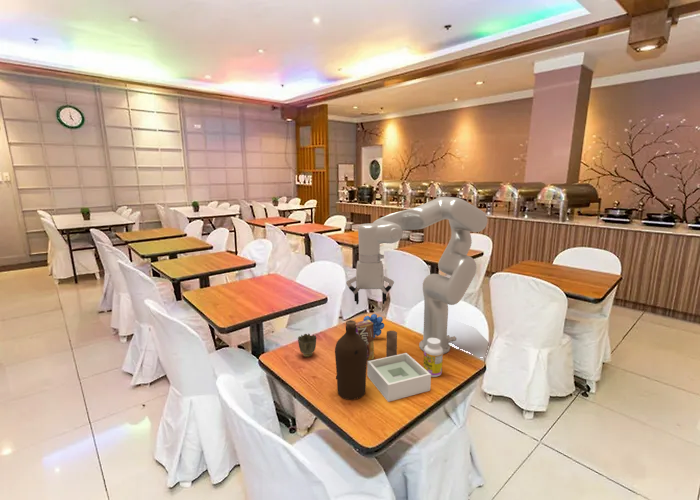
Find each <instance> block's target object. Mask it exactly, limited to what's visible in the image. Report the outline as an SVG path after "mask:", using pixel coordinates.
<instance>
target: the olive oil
mask: <svg viewBox="0 0 700 500" xmlns="http://www.w3.org/2000/svg"><path fill="white" fill-rule="evenodd" d="M334 358H335V359H334V360H335V370H336V376H335V379H336V383H337V384H336V385H337V387H336V389H337V394H338V396H339V397H340V398H342V399H345V400H348V401H349V400H358V399H360V398H362V397H363V396H364V395H365V394H366V389H367V388H366V387H367V386H366V382H367V346H366V343H365V341H364V340H363V339H362V338H361V337H360V336H359V335H358V334H357V333H356V321H355V320H352V319H350V320H346V321H345V333H344V334H342V336H341V337H340V338H339V339H338V340H337V341H336V344H335V347H334Z"/></svg>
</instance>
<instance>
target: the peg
mask: <svg viewBox="0 0 700 500" xmlns="http://www.w3.org/2000/svg"><path fill="white" fill-rule="evenodd" d="M385 346H386V348H385V349H386V351H385V353H386V356H385V357H389V356H394V355H398V352H397V351H398V332H397V331H396V330H387V331H386V345H385Z"/></svg>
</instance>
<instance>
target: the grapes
mask: <svg viewBox="0 0 700 500" xmlns="http://www.w3.org/2000/svg"><path fill="white" fill-rule="evenodd" d="M365 320H370V321H371V322H373V334H374V339H375V338H376V337H379V336H381V335H382V330H383V329H384V328H385V324H384V322H383V320H384V319H383V317H382V316H378V315H377V314H376V313H372V314H371V315H365V316H364V317H363V320H362V321H365Z"/></svg>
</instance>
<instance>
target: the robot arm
mask: <svg viewBox="0 0 700 500" xmlns="http://www.w3.org/2000/svg"><path fill="white" fill-rule="evenodd" d="M443 220H448V223H449V227H450V230H451V231H450V232H451V235H450V239H449V241H448V244H447V245H446V247H445V249H444V251H443V253H442V254H441V256H440V258H439V260H438V262H437V263H438V264H437V266H438V267H437V268H438V269H439V271H441V272H442V273H443V274H445V275H448V276H450V278H449V277H447V276H444V275H442V274H438V273H430V274H428V275H427V276H426V277H425V278H424V280H423V281H422V293H423V301H424V304H423V305H424V309H423V332H422V333H423V337H422V338H423V339H422V340H421V341H419V343H418V344H419V345H418V346H419V349H420V350H421V351H423V352H424V348H425V346H426V345H428V344H427V340H428V339H429V338H437V339H439V340H440V341H441V342H440V346H441V347H442V349H443V355H444V354H447V353H449V352H450V351H451V345H450V343H451V342H456V341H457V336H455V335H454V336H453V335H452V336H450V335H448V323H449V322H448V318H449V306H454V305H457V304H458V303H459V302H460V301H461V300H462V299H463V297H464V296H465V294H466V292H467V290H468V288H469V287H470V284H471V283H472V281H473V280H474V277H475V275H476V273H477V262H476V261H475V259H474V258H473V257H471V256H469V255H468V253H469V251H470V249H471V246H472V243H473V241H472V235H471V233H472V232H473V233H478V232H479V233H480V232H482V231H483V230H485V228H487V225H488V216H487V215H486V212H485V211H483V210H482V209H480V208H478V207H477V206H475V205H473V204H471V203H470V202H468V201H466V200H465V199H462V198H460V197H451V196H440V197H437V198H434V199H432V200H430V201H428V202H425V203H423V204H421V205H418V206H415V207H412V208H407V209H405V210H401V211H396V212H393V213H389V214H387V215H385V216H382V217H379V218H378V219H376V220H374V221H373V222H372V223H361V224H359V226H358V230H357V232H358V233H357V234H358V237H357V238H358V260H357V262H356V268H355V270H356V271H355V276H354V277H353V278H350V279H349V280H346V285H347V286H348V287H347V288H348V289H349V290H350V291H351V292H352V293H353V295H354V296H353V297H354V298H353V299H354V302H355V304H356V305H359V302H360V299H359V291H360V290H381V292H382V295H381V296H382V304H383V305H385V302H387V294H388V292H389V291H390V290H391V289H392V287H393V285H394V283H395V281H394V279H391V278H389V277H386V276H385V272H384V264H383V260H382V259H385V255H384V254H381V252H380V251H381V245H380V244H395V243H397V242H399V241H400V240H401V239H402V237H403V234H404V233H403V232H404V231H406V230H412V231H413V230H415V231H416V230H421V229H423V230H424V229H425V228H427V227H430V226H432V225H434V224H436V223H439V222H440V221H443ZM385 282H386V283H388V285H386V287H385ZM353 283H355V285H356V286H355V287H354V286H353V285H352V284H353Z"/></svg>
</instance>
